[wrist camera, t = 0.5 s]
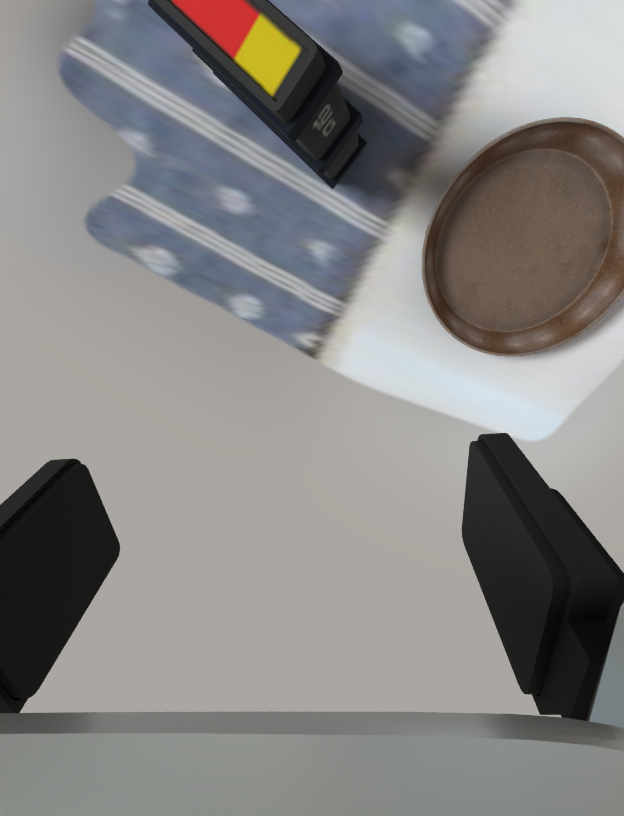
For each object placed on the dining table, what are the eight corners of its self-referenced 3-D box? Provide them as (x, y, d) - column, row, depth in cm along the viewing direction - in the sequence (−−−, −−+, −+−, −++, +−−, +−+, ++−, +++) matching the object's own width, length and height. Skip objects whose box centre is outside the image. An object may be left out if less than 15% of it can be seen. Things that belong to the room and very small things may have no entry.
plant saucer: (678, 203, 33) (709, 203, 30) (525, 377, 40) (539, 390, 37) (508, 72, 30) (526, 59, 27) (376, 287, 37) (379, 294, 34)
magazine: (360, 217, 32) (277, 125, 19) (254, 116, 34) (109, -34, 21) (393, 176, 31) (330, 44, 17) (281, 73, 33) (145, -118, 19)
